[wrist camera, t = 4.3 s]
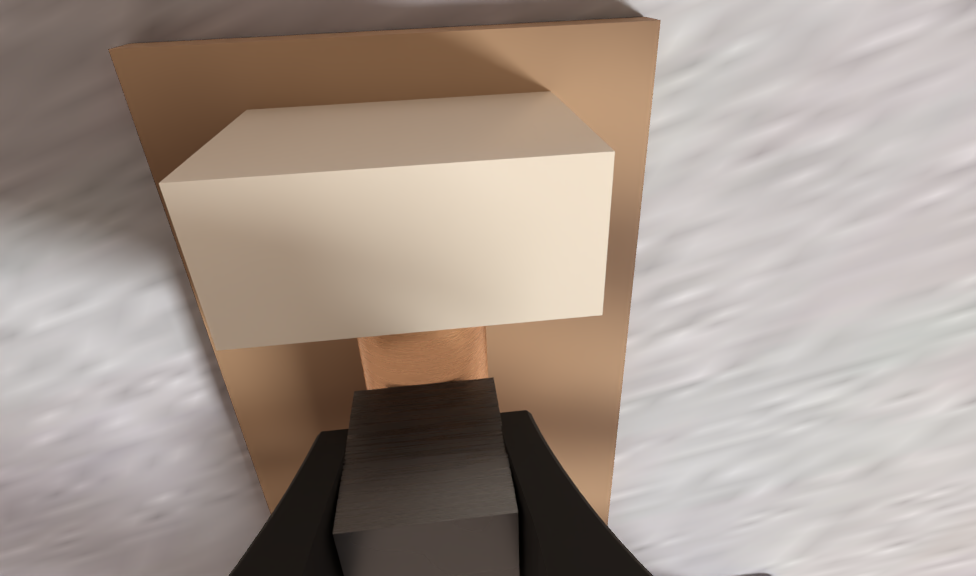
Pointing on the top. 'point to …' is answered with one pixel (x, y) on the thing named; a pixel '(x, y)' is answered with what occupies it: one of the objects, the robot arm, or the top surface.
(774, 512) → the top surface
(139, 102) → the walnut board
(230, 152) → the cream rectangular block
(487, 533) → the brown piece
